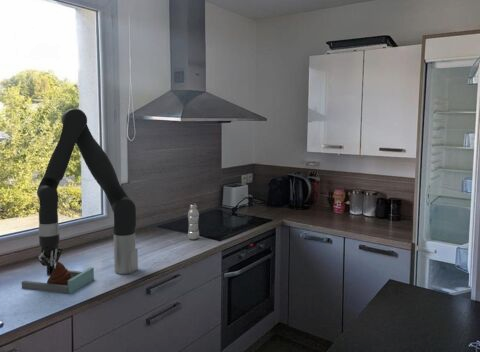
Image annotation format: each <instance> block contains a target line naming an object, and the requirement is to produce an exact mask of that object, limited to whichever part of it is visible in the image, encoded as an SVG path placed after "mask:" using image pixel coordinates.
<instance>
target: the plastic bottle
mask: <svg viewBox="0 0 480 352" xmlns="http://www.w3.org/2000/svg"><path fill="white" fill-rule="evenodd" d="M197 207H198V206H197V203H190V204H189V210H188V212H187V219H188V231H187V237H188V239H189V240H198V239H199V238H200V230H199V216H200V213H199V210H198V209H197Z"/></svg>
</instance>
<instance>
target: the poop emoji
mask: <svg viewBox="0 0 480 352" xmlns="http://www.w3.org/2000/svg"><path fill="white" fill-rule="evenodd" d="M54 266H55V268H54V269H53V270H52V274H51V275H49V278H48V279H46V280H47V281H46V283H50V284H58V285H67V286H68V280H70V279H71V278H73V277H72V276H71V273H70V272H69V270H70V269H69V268H66V267H65V265H64V264H63V263H62V262H60V261H58V262H56V263H55V265H54Z"/></svg>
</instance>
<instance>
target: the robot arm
mask: <svg viewBox="0 0 480 352" xmlns="http://www.w3.org/2000/svg"><path fill="white" fill-rule="evenodd" d="M61 124H62V128H61V132H60V136H59V139H58V142H57V144H56V146H55V148H54V150H53V152H52V153H51V157H50V158H49V161H48V163H47V165H46V166H47V167H46V169H45V172H44V175H43V177H42V178H41V180H40V182H39V184H38V187H37V190H36V195H37V197H38V200H39V211H38V238H39V239H38V241H39V242H38V243H39V246H40V247H41V251H40V255H37V256H36V260H38V262H39V263H40V264H41V265H42V266H43V267H46V275H47V274H48V275H47V276H50V275H51V274H52V270H53V269H54V268H55V266H56V262H59V260H60V257H61V255H62V253H63V248H60V247H59V244H60V243H61V242H60V241H61V240H60V224H59V215H58V214H59V212H58V206H59V192H58V188H59V185H60V183H61V181H62V180H63V178H64V176H65V174H66V171H67V168H68V165H69V162H70V160H71V156H72V155H73V151H74V148H75V146H77V148H78V150H79V152H80V155H81V157H82V159H83V161H84V163H85V165H86V167H87V168H88V170H89V171H90V173H91V175H92V177H93V179H94V180H95V182H97V184H98V185H99V187H100V188H101V189H102V190H103V192H104V194H105V196H106V198H107V200H108V202H109V205H110V207H111V209H112V212H113V227H112V228H113V229H112V231H113V258H114V259H113V260H114V261H113V262H114V272H115V273H116V274H119V275H127V274H131V275H132V274H133V273H134V272H135V271H138V270H139V264H138V263H139V260H138V259H139V257H138V248H137V247H136V228H137V227H136V226H137V209H136V204H135V203H134V201H133V200H132V199H131V198H130V197H129V196H128V194H127V193H126V191H124V189H123V187H122V186H121V184H120V182H119V179H118V175H117V173H116V170H115V168H114V166H113V164H112V162H111V160H110V158H109V157H108V155H107V153H106V151H104V149H103V148H102V146H101V145H100V144H99V143H98V141H96V139H95V138H94V136H93V135H92V133H91V130H90V128H89V126H88V117H87V115H86V113H85V112H84V111H83V110H81V109H79V108H70V109H68V110H67V111H65V112H64V113H63V114H62V117H61Z"/></svg>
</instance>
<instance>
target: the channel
mask: <svg viewBox="0 0 480 352" xmlns="http://www.w3.org/2000/svg"><path fill="white" fill-rule="evenodd" d="M69 272H70V273H71V276H72V277H73V278H71V279H70V280H68V286H67V285H58V284H50V283H47V282H40V281H32V280H25V279H24V280H22V281H21V289H28V290H36V291H45V292H51V293H53V292H54V293H59V294H60V293H62V294H73V293H74V292H76V291H78V290H79V289H81V288H83V287H84V286H86V285H87V284H89V283H90V282H92V281H94V279H95V273H94V272H95V268H94V267H88V268H87V269H86V270H84V271H77V270H70V269H69ZM46 275H47V276H49V275H48V274H47V273H46Z"/></svg>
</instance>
